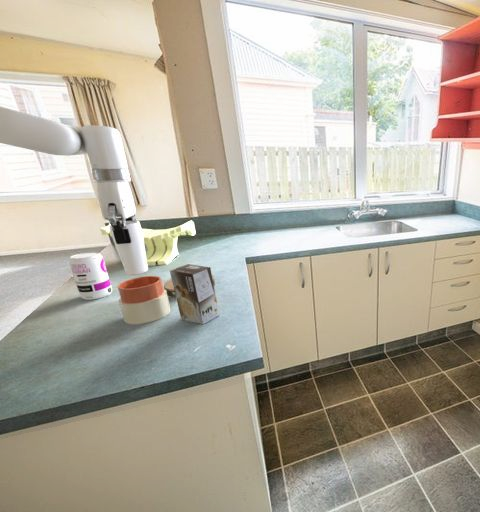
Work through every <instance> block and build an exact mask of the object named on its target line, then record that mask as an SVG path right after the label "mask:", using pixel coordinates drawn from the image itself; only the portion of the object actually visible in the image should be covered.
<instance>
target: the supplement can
mask: <svg viewBox="0 0 480 512" xmlns="http://www.w3.org/2000/svg"><path fill="white" fill-rule="evenodd" d="M68 264H69V266H70V271H71V273H72V276H73V279H74V283H75V285H76V287H77V290H78V294H79V296H80V298H81V299H83V300H86V301H91V300H92V301H93V300H98V299H102V298H105V297H107V296H109V295H111V294H112V292H113V288H112V284H111V280H110V277H109V273H108V270H107V267H106V263H105V260H104V256H102V254H100V252H97V251H89V252H81V253H77V254H74V255H73V254H72V255H71V256H70V257H69V261H68Z"/></svg>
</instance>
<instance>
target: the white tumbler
mask: <svg viewBox="0 0 480 512" xmlns="http://www.w3.org/2000/svg"><path fill="white" fill-rule="evenodd" d="M120 223H121V224H122V221H120ZM108 226H109V227H110V232H111V235H112V237H111V238H112V241H113V244H114V246H115V249H116V251H117V254H118V256H119V258H120V261H121V264H122V266H123V269H124V273H125V274H126V275H128V276H136V275H142V274H144V273H146V272H148V271H149V266H148V265H147V260H146V254H147V252H146V245H145V244H144V238H143V232H142V229H143V228H142V226H141V223H140V221H139V220H136V221H126V229H128V230H129V234H130V238H131V243H126V244H117V243H116V241H115V237H114V233H113V230H112V228H111V225H110V223H109V224H108Z"/></svg>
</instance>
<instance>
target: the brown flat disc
mask: <svg viewBox="0 0 480 512" xmlns="http://www.w3.org/2000/svg"><path fill="white" fill-rule="evenodd" d="M212 279H213V284H214V287H215V286H216V281H215V277H214V275H213V274H212ZM163 289H165V290H166V291H167V295H168V297H171V298H176V295H175V291H174V287H173V282H172V278H170V279H168V280H167V281H166V282H164V283H163Z"/></svg>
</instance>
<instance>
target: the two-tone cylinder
mask: <svg viewBox="0 0 480 512" xmlns="http://www.w3.org/2000/svg"><path fill="white" fill-rule="evenodd" d="M163 289H164V288H163ZM118 305H119V309H120V312H121V315H122V318H123V321H124V323H125V324H128V325H143V324H148V323H151V322H155V321H158V320H161V319H162V318H164V317H166V316H168V315H169V314H170V313H171V311H172V309H171V303H170V300H169V296H168V295H167V291H166V290H165V289H164V293H163V295H161V296H159V297H158V298H155V299H153V300H149V301H146V302H141V303H134V304H127V303H123V302H122V301H121V298H120V297H119V299H118Z"/></svg>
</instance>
